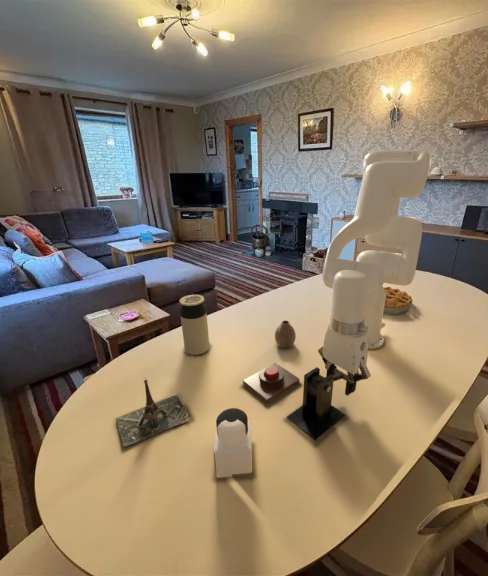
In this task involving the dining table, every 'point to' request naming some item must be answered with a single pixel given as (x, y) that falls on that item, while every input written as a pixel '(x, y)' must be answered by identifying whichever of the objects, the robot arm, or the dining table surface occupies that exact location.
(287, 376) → the housing
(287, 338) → the vase
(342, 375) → the switch lever
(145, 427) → the eiffel tower figurine
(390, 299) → the pie
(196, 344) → the travel mug
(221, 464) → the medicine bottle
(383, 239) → the robot arm
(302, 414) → the switch bracket
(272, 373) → the button
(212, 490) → the dining table surface
